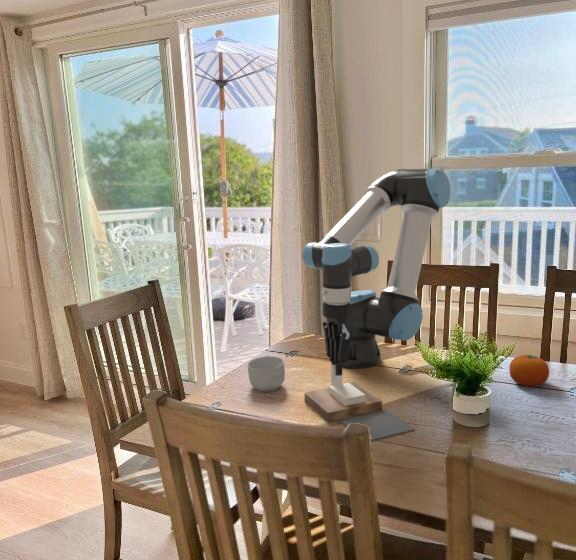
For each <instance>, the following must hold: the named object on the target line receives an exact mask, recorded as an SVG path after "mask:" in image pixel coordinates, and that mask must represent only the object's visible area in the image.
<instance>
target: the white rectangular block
mask: <svg viewBox="0 0 576 560" xmlns="http://www.w3.org/2000/svg"><path fill="white" fill-rule="evenodd" d="M328 388H329V393H330V394H331V395H332V396H333V397H335V398H336V399H337V400H338V401H339V402H341V403H342V404H343V405H344V406H348V405H352V404H357V403H362V402H365V394H364V393H362V392H361V391H360V390H358V389H357V388H355V387H354V386H353V385H351V384H350V382H345V383H342V384H339V385H334V386H332V385H329V387H328Z"/></svg>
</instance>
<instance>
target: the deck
mask: <svg viewBox="0 0 576 560" xmlns="http://www.w3.org/2000/svg"><path fill="white" fill-rule="evenodd" d="M349 383H350V382H349ZM350 384H351V385H353V386H354V387H355V388H357V389H358V390H360V391H361V392H362V393H364V394H365V402H362V403H357V404H352V405H348V406H344V405H343V404H342V403H341V402H339V401H338V400H337V399H336V398H335V397H333V396H332V395H331V394H330V393H329V387H326V388H321V389H316V390H312V391H307V392H304V394H303V395H304V402H305V403H306V404H307V405H308V406H309V407H310V408H311V409H313V410H314V411H315V412H316V413H317V414H318V415H320V417H322V418H323V419H324V420H325V421H326V422H327V423H331V422H335V421H340V420H344V419H348V418H353V417H357V416H361V415H366V414H370V413H374V412H379V411H383V400H381V399H379V397H377V396H376V395H374V394H373V393H371V392H370V391H368V390H367V389H365V387H362V386H361V385H360V384H358V383H357V382H351V383H350Z"/></svg>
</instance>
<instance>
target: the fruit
mask: <svg viewBox="0 0 576 560" xmlns="http://www.w3.org/2000/svg"><path fill="white" fill-rule="evenodd" d="M508 371H509V375H510V377H511V379H512V380H513V381H514V382H515V383H516V384H519V385H522V386H526V387H538V386H540V385H542V384H544V383H546V382H547V380H548V379H549V376H550V367H549V366H548V364H547V362H546V361H545V360H543V359H542V358H540V357H539V356H537V355H532V354H522V355H517V356H516V357H514V358H513V359H512V360H511V361H510V363H509V370H508Z"/></svg>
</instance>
